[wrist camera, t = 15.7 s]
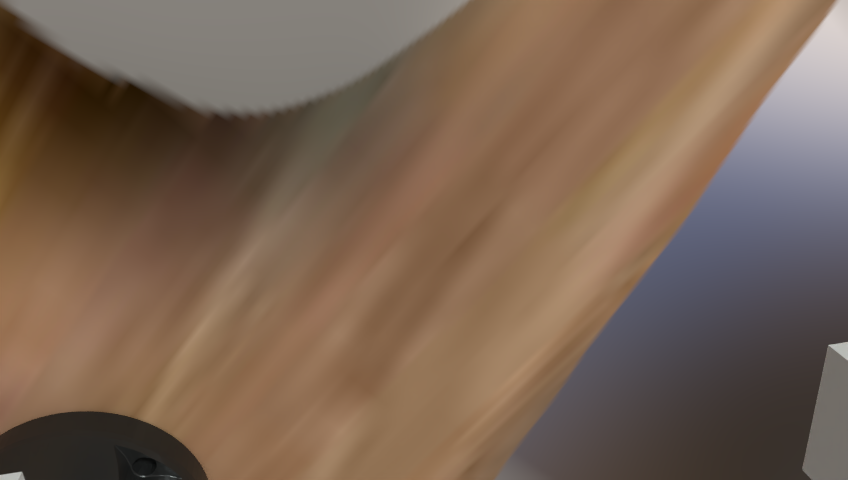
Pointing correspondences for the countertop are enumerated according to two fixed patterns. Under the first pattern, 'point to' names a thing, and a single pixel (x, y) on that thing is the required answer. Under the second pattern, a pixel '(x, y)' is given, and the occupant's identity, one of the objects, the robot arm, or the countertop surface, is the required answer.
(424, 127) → the countertop surface
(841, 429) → the robot arm
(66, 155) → the countertop surface
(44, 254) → the countertop surface
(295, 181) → the countertop surface
